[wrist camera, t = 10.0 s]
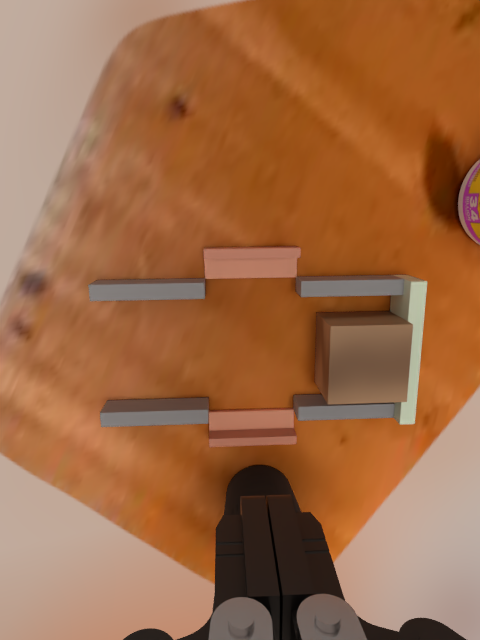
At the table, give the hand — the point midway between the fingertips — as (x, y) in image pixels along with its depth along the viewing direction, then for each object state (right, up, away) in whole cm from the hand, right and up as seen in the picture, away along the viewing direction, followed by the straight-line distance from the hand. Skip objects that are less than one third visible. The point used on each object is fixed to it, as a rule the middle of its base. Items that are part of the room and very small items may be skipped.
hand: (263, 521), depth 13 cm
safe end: (+10, +4, +18) cm, 21 cm away
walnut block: (+7, +4, +18) cm, 20 cm away
